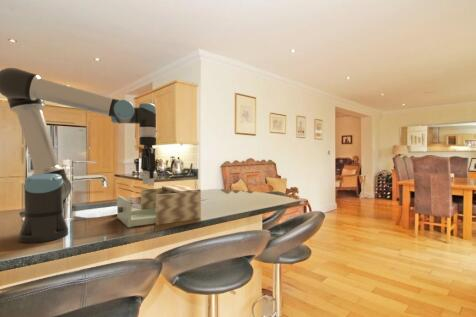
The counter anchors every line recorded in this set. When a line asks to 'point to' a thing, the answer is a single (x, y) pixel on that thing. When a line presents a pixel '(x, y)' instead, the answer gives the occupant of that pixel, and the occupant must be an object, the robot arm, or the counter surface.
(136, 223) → the tray
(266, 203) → the counter surface
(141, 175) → the disc
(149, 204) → the case
